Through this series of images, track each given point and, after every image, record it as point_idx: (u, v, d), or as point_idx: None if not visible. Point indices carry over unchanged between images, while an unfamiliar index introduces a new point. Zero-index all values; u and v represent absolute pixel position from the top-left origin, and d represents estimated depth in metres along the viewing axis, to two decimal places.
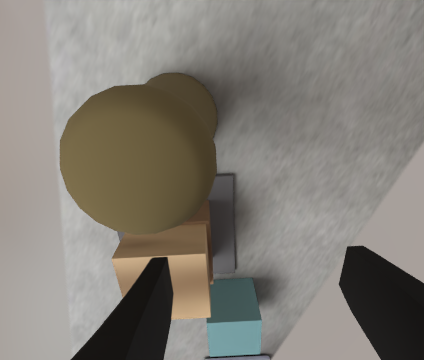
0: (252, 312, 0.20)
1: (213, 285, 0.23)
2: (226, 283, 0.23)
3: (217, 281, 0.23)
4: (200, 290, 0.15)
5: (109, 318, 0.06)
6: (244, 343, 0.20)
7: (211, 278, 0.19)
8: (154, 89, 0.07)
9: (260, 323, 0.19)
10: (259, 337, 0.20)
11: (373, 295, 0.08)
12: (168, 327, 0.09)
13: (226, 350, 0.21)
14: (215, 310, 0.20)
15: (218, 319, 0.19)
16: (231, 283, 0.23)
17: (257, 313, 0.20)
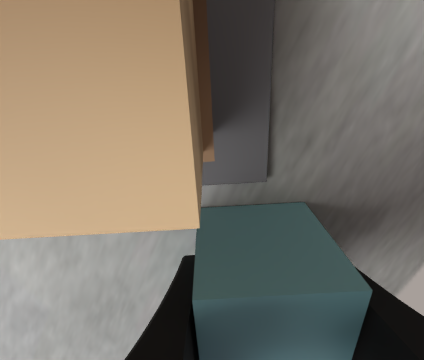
0: (332, 270, 0.07)
1: (213, 216, 0.09)
2: (246, 212, 0.09)
3: (223, 210, 0.10)
4: None
5: (156, 315, 0.06)
6: None
7: (207, 136, 0.05)
8: None
9: (366, 301, 0.06)
10: (351, 345, 0.07)
11: None
12: None
13: None
14: (220, 267, 0.07)
15: (231, 289, 0.06)
16: (257, 213, 0.09)
17: (349, 272, 0.06)
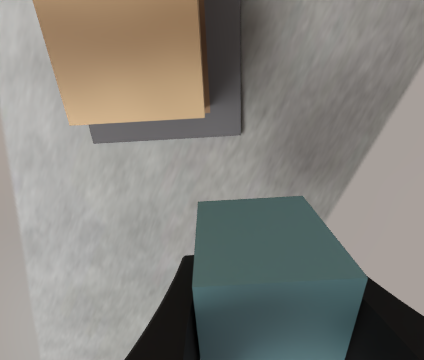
0: (328, 259, 0.07)
1: (212, 209, 0.10)
2: (245, 205, 0.10)
3: (222, 204, 0.10)
4: (185, 46, 0.09)
5: (156, 315, 0.06)
6: (302, 351, 0.07)
7: (207, 101, 0.12)
8: None
9: (361, 288, 0.06)
10: (347, 333, 0.07)
11: None
12: None
13: None
14: (219, 256, 0.07)
15: (230, 277, 0.06)
16: (256, 206, 0.10)
17: (346, 261, 0.07)
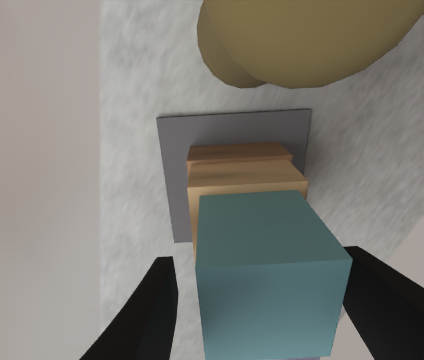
0: (318, 244, 0.07)
1: (213, 202, 0.10)
2: (243, 198, 0.10)
3: (222, 197, 0.11)
4: None
5: (117, 318, 0.06)
6: (296, 329, 0.08)
7: None
8: None
9: (347, 269, 0.07)
10: (336, 312, 0.08)
11: (367, 295, 0.08)
12: (174, 326, 0.09)
13: (246, 347, 0.08)
14: (219, 243, 0.08)
15: (229, 260, 0.07)
16: (253, 199, 0.10)
17: (334, 245, 0.07)
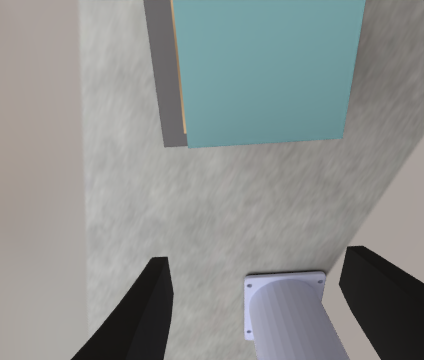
0: None
1: None
2: None
3: None
4: None
5: (109, 318, 0.06)
6: (300, 82, 0.06)
7: None
8: None
9: None
10: (352, 48, 0.06)
11: (373, 295, 0.08)
12: (168, 326, 0.09)
13: (238, 119, 0.07)
14: None
15: None
16: None
17: None
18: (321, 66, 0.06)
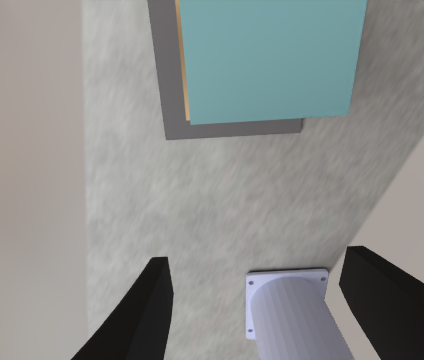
0: None
1: None
2: None
3: None
4: None
5: (109, 318, 0.06)
6: (305, 55, 0.06)
7: None
8: None
9: None
10: (359, 19, 0.06)
11: (373, 295, 0.08)
12: (168, 327, 0.09)
13: (241, 94, 0.06)
14: None
15: None
16: None
17: None
18: (327, 38, 0.06)
